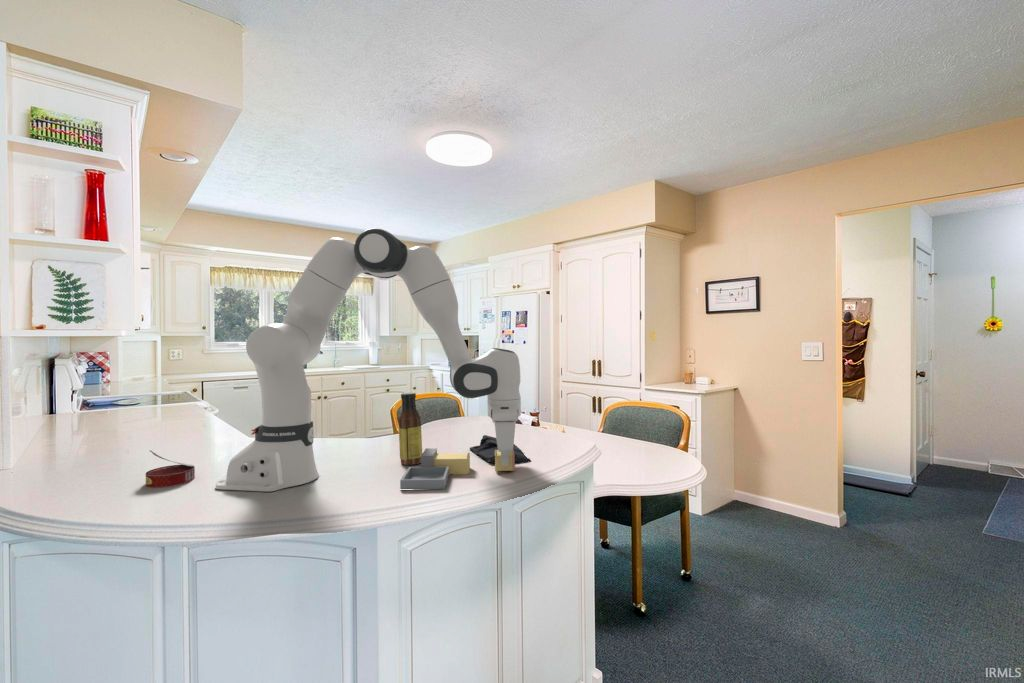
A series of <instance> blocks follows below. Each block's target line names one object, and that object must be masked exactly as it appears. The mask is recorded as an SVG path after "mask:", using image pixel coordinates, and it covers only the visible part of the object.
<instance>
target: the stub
mask: <svg viewBox="0 0 1024 683" xmlns="http://www.w3.org/2000/svg"><path fill="white" fill-rule="evenodd" d="M515 463H516V462H515V455H514V450H512V452H509V464H508V465H507V466H503V465H502V459H501V452H499V451H498V450H495V463H494V467H495V468H494V471H495V472H508V471H509V472H510V471H511V472H515V471H516V469H515V468H516V467H515V465H516V464H515Z"/></svg>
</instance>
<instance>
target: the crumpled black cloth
mask: <svg viewBox="0 0 1024 683" xmlns="http://www.w3.org/2000/svg"><path fill="white" fill-rule="evenodd" d="M469 450H470V451H471V450H472V451H471V452H473V453H474V454H475V455H476V456H478V457H481V458H482V459H483V460H485V461H487V462H488V461H489V462H488V463H491V464H495V450H498V447H497V439H496V436H494V437H493V436H490V435H485V434H483V435H482V438H481V439H480V443H479V445H475V446H471V447H469ZM513 450H514V455H515V463H516V462H524V463H528V461H529V462H532V460H531V459H530V458H529V457H528V456H527V457H528V458H527V457H526V456H525V455H526V454H525V453H524V452H523V451H522V449H520V448H519V447H518V446H517V445H516V444H515V443H514V445H513ZM524 454H525V455H524Z"/></svg>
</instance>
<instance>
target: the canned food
mask: <svg viewBox="0 0 1024 683" xmlns="http://www.w3.org/2000/svg"><path fill="white" fill-rule="evenodd" d="M149 452H150V453H152V455H154V456H155V457H157V458H159V459H162V460H165V461H168V462H170V463H174V465H167V466H161V467H156V468H153V469H150V470H148V471H146V472H145V486H146V487H147V488H153V489H154V488H169V487H175V486H179V485H182V484H187V483H189V482H191V481H194V479H195V476H196V474H195V465H194V464H187V463H183V462H182V463H181V462H177V461H174V460H170V459H167V458H165V457H162V456H160V455H158V454H157V453H156V452H153V451H152V450H149Z"/></svg>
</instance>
